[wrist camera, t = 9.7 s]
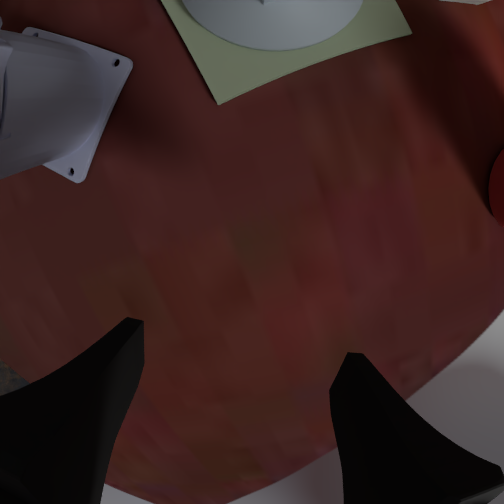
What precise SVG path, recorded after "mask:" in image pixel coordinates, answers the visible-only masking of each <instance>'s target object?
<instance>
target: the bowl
mask: <svg viewBox="0 0 504 504" xmlns="http://www.w3.org/2000/svg"><path fill="white" fill-rule="evenodd" d="M441 1H452V2H461V3H469V4H476V5H479V4H482V3H485V2H488V1H491V0H441Z"/></svg>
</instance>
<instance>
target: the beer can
mask: <svg viewBox="0 0 504 504" xmlns="http://www.w3.org/2000/svg"><path fill="white" fill-rule="evenodd" d="M488 190H489V203H490V206H491V210H492V213H493V216H494V217H495V219H496V220H497V222H498V223H499V225H501V226H502V227H504V149H503V150H502V151H501V152H500V154H499V155H498V157H497V159H496V160H495V162H494V165H493V167H492V170H491V173H490V179H489V187H488Z"/></svg>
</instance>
